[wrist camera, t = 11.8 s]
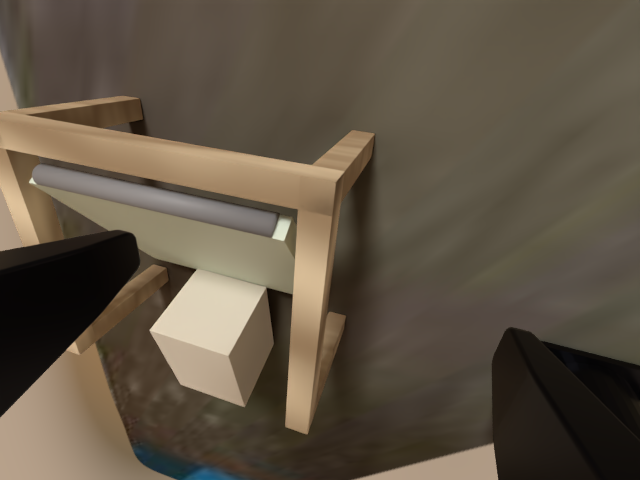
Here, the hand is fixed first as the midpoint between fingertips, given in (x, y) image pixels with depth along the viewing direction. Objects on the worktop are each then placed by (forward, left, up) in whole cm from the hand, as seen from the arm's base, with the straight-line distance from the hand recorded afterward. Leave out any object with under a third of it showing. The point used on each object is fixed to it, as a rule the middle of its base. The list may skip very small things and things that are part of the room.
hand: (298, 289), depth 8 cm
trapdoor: (+8, +4, -8) cm, 12 cm away
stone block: (+8, +9, -8) cm, 15 cm away
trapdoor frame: (+8, +6, -12) cm, 16 cm away
